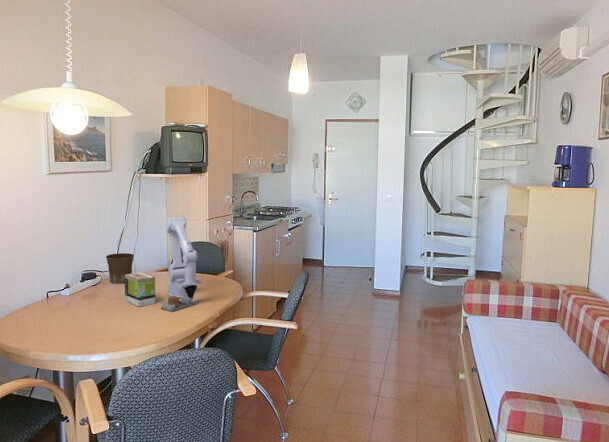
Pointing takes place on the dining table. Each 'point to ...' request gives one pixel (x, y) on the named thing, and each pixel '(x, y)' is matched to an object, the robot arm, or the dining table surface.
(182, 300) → the block
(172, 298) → the block
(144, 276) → the tea box
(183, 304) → the vise
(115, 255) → the plant pot
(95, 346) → the dining table surface
